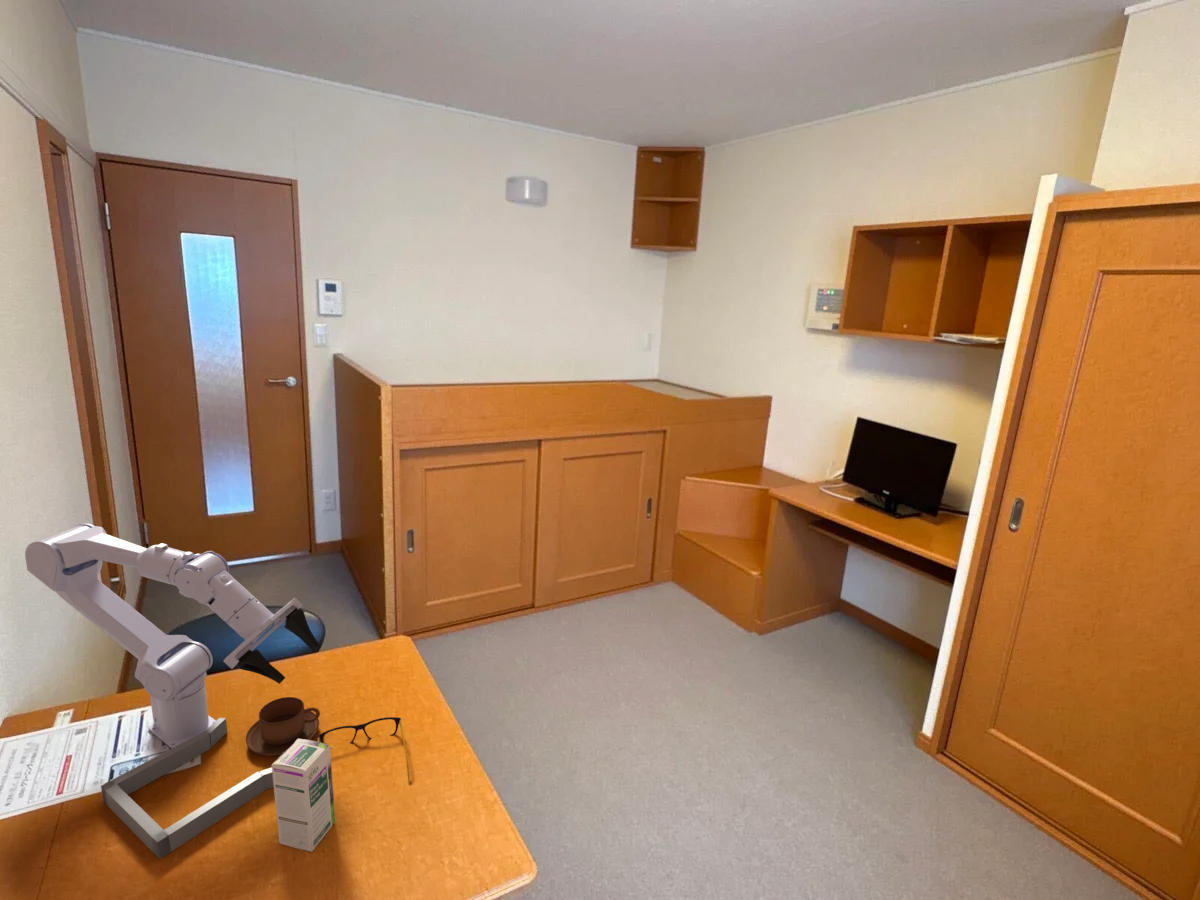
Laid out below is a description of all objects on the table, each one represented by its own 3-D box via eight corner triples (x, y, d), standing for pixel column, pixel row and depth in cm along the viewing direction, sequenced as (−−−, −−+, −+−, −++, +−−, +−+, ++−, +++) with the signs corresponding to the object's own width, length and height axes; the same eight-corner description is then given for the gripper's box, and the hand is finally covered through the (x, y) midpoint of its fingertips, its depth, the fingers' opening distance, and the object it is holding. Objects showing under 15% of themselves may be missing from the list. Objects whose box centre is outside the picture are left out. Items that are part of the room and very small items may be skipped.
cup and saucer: (305, 708, 122) (303, 681, 120) (329, 741, 114) (328, 712, 112) (237, 735, 114) (235, 706, 112) (258, 773, 106) (256, 742, 104)
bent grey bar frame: (99, 797, 98) (96, 781, 98) (224, 729, 115) (222, 716, 114) (164, 864, 88) (162, 847, 87) (292, 779, 104) (290, 765, 104)
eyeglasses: (400, 731, 118) (400, 713, 117) (410, 786, 105) (410, 766, 104) (318, 749, 112) (317, 730, 111) (318, 810, 99) (317, 789, 98)
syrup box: (312, 853, 91) (307, 771, 88) (277, 844, 92) (270, 762, 89) (336, 822, 97) (331, 743, 93) (302, 814, 98) (297, 736, 94)
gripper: (208, 634, 98) (271, 691, 100) (281, 574, 110) (337, 626, 111) (200, 646, 103) (261, 701, 104) (271, 588, 114) (325, 638, 115)
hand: (300, 663), depth 108 cm, fingers open, 7 cm apart
